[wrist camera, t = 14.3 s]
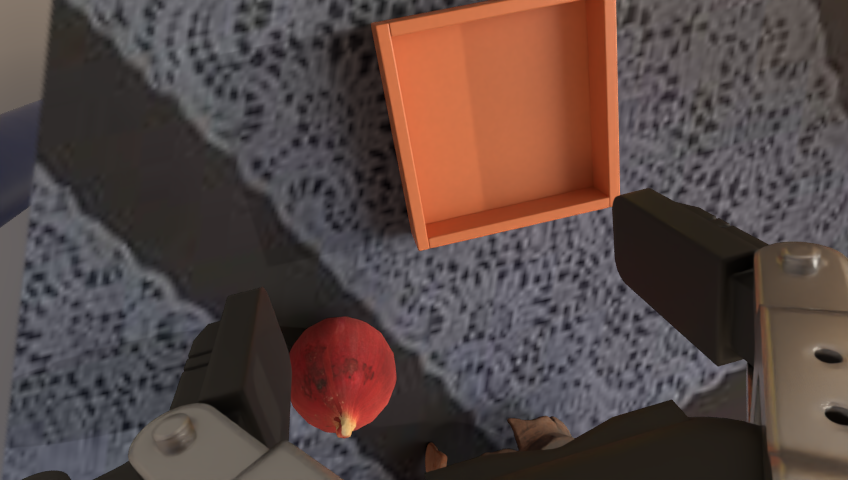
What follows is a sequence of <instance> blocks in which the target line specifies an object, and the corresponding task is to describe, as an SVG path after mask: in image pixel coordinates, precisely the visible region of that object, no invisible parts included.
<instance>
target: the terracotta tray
mask: <svg viewBox="0 0 848 480" xmlns="http://www.w3.org/2000/svg"><path fill="white" fill-rule="evenodd" d="M371 29H372V34H373V39H374V44H375V49H376V54H377V59H378V64H379V69H380V75H381V80H382V85H383V90H384V95H385V100H386V105H387V110H388V115H389V120H390V126H391V131H392V136H393V141H394V146H395V151H396V156H397V161H398V166H399V172H400V177H401V182H402V187H403V192H404V197H405V202H406V207H407V212H408V217H409V223H410V228H411V233H412V235H413V238H414V240H415V243H416V245H417V248H418V250H419V251H421V250H426V249H429V247H430V248H434V247H439V246H443V245H447V244H452V243H456V242H460V241H465V240H469V239H473V238H478V237H482V236H486V235H491V234H495V233H499V232H504V231H508V230H512V229H517V228H521V227H525V226H530V225H534V224H538V223H543V222H547V221H551V220H556V219H560V218H564V217H569V216H573V215H577V214H582V213H586V212H590V211H595V210H599V209H603V208H608V207H612V205H613V200H614V198H615V197H616V196H619V195H620V178H619V130H618V82H617V34H616V0H489V1H483V2H478V3H473V4H468V5H463V6H457V7H452V8H447V9H442V10H437V11H431V12H426V13H421V14H416V15H411V16H405V17H400V18H395V19H390V20H385V21H379V22H374V23H371Z"/></svg>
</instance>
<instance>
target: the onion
mask: <svg viewBox="0 0 848 480" xmlns="http://www.w3.org/2000/svg"><path fill="white" fill-rule="evenodd" d="M289 356H290V361H291V368H292V382H291V402H292V405H293V407H294V408H295V409H296V411H297V412H298V413H299V414H300V415H301V416H302V417H303V418H304V419H305V420H306V421H307V422H308V423H309V424H311V425H312V426H314V427H317V428H319V429H321V430H323V431H325V432H331V433H336V434H337V436H338V437H339V438H347V437H350V436H351V433H352V431H354V430H357V429H359V428H361V427H363V426H365V425H366V424H368V423H370V422H372V421H373V420H374V419H375V418H376V417H377V415H378V414H379V413H380V412H381V411H382V410H383V409H384V408H385V406H386V405H387V404H388V402H389V399H390V397H391V394H392V391H393V389H394V386H395V382H396V369H395V361H394V354H393V352H392V350H391V349H390V347H389V345H388V344H387V342H386V340H385V339H384V337H383V335H382V334H381V333H380V332H379V331H377V330H376V329H375V328H373V327H372V326H370V325H369V324H367V323H366V322H364V321H361V320H357V319H353V318H350V317H334V318H326V319H324V320H322V321H320V322H319V323H317V324H315V325H313V326H311V327H309V328H308V329H306V330H305V331H304V332H303V333H302V334H301V336H300V337H299V338H298V340H297V341H296V342H295V343H294V345H293V346H292V348H291V351H290V353H289Z"/></svg>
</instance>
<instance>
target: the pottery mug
mask: <svg viewBox="0 0 848 480" xmlns="http://www.w3.org/2000/svg"><path fill="white" fill-rule="evenodd" d="M507 421H508V423H509V424H510V426H511V427H512V430H513V432H514V436H515V439H516V442H517V445H518V449H519V451H516V450H512V449H502V450H499V451H496V452H492V453H489V452H487V453H484V454H482V455H481V456H483V455H487V454H497V453H509V452H521V451H533V450H545V449H554V448H558V447H561V446H563V445H565V444H567V443H568V442H570V441H572V440H574V439H575V438H573V437H572V436H571V434H570V432H569V430H568V429H567V427H566V426H565V425H564V424H563V423H562V422H561V421H560V420H558V419H557V418H556V417H553V416H552V417H550V418H549V417H548V416H542V417H538V418H537V419H533V420H521V419H516V418H508V419H507ZM446 463H447V456H446V455H445V454H444V453H442V452H440V451H438V449H437V447H436V446H435V445H434V444H433V443H429V444H428V445H427V450H426V454H425V466H426V472H429V471H433V470H436V469H439V468H443V467H446Z"/></svg>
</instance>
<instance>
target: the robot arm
mask: <svg viewBox="0 0 848 480" xmlns="http://www.w3.org/2000/svg"><path fill="white" fill-rule="evenodd" d="M612 214H613V233H614V252H615V262H616V266H617V270H618V272H619V274H620V276H621V278H622V280H623V281H624V282H625V284H626V285H628V286H629V287H630V288H631V289H632V290H633V291H634V292H635V293H636V294H638V295H639V296H640V297H641V298H642V299H643V300H644V301H645V302H647V303H648V304H649V305H650V306H651V307H652V308H653V309H654V310H655V311H657V312H658V313H659V314H660V315H661V316H662V317H663V318H664V319H665V320H667V321H668V322H669V323H670V324H671V325H672V326H673V327H674V328H675V329H677V330H678V331H679V332H680V333H681V334H682V335H683V336H684V337H686V338H687V339H688V340H689V341H690V342H691V343H692V344H693V345H694V346H696V347H697V348H698V349H699V350H700V351H701V352H702V353H703V354H704V355H706V356H707V357H708V358H709V359H710V360H711V361H712V362H713V363H714V364H716V365H717V366H721V365H725V364H728V363H732V362H735V361H738V360H742V359H744V360H746V361H747V374H746V395H747V422H745V421H739V420H733V419H728V418H717V417H687V416H686V415H685V413H684V412H683V411H682V410H681V409H680V408H679V407H678V406H677V405H676V403H675V402H674V401H673V400H669V401H665V402H662V403H659V404H655V405H652V406H648V407H645V408H642V409H638V410H635V411H632V412H628V413H625V414H622V415H618V416H615V417H612V418H610V419H609V420H607V421H605V422H603V423H602V424H600V425H598V426H596V427H595V428H593V429H591V430H589V431H588V432H586V433H584V434H582V435H581V436H579V437H577V438H575V439H574V440H572V441H570V442H568V443H567V444H565V445H563V446H561V447H558V448H554V449H545V450H533V451H521V452H509V453H497V454H487V455H483V456H480V457H477V458H473V459H470V460H466V461H463V462H460V463H456V464H453V465H450V466H446V467H443V468H439V469H436V470H433V471H429V472H426V473H425V478H426V480H848V259H847V258H846V257H845V256H844V255H843V254H841V253H840V252H838V251H836V250H834V249H832V248H829V247H826V246H823V245H819V244H814V243H807V242H781V243H775V244H771V245H768V244H767V243H765V242H763V241H761V240H759V239H757V238H755V237H753V236H751V235H750V234H748V233H746V232H744V231H742V230H740V229H738V228H736V227H735V226H730V225H729V223H727V222H725V221H723V220H721V219H720V218H718V219H716V216H714V215H712V214H710V213H708V212H706V211H704V210H703V209H701V208H699V207H694V206H690V205H686V204H682V203H678V202H674V201H672V200H671V199H669V198H667V197H665V196H663V195H661V194H660V193H658V192H656V191H654V190H652V189H650V188H646V189H642V190H639V191H635V192H631V193H627V194H623V195H619V196H616V197H615V198H614V200H613V205H612ZM188 357H189V359H187V361H186V364H185V367H184V372H183V373H182V376H181V379H180V382H179V384H178V387H177V390H176V393H175V396H174V399H173V402H172V405H171V408H170V411H168V412H166V413H164V414H162V415H161V416H159V417H157V418H156V419H154V420H153V421H152V422H150V423H149V424H148V425H147V426H146V427H144V428H143V429H142V430H141V431H140V432H139V434H138V435H137V436H136V437H135V439H134V440H133V442H132V444H131V446H130V449H129V453H128V457H129V461H128V462H126V463H125V464H123V465H121V466H119V467H118V468H116V469H114V470H112V471H110V472H108V473H106V474H104V475H102V476H100V477H98V478H96V479H94V480H343V479H342V478H340V477H339V476H337V475H336V474H335V473H333V472H332V471H330V470H329V469H327V468H326V467H325V466H323V465H322V464H320V463H319V462H317V461H316V460H315V459H313V458H312V457H310V456H309V455H307V454H306V453H305V452H303V451H302V450H300V449H299V448H298V447H296V446H295V445H293V444H292V443H290V442H288V441H289V421H290V402H291V382H292V368H291V361H290V356H289V352H288V349H287V346H286V343H285V340H284V337H283V334H282V332H281V329H280V326H279V323H278V321H277V318H276V315H275V312H274V310H273V307H272V304H271V301H270V299H269V296H268V294H267V292H266V290H265V289H264V288H263V287H261V288H257V289H253V290H249V291H245V292H241V293H238V294H234V295H230V296H228V297H227V300H226V304H225V307H224V311H223V314H222V318H221V321H218V322H215V323H211V324H208V325H207V326H206V327H205V328H204V329H203V331H202V332H201V333H200V334H199V335H198V336H197V337H196V338H195V339H194V341H193V344H192V347H191V350H190V353H189V355H188ZM22 480H71V479H70V477H69V476H68V475H67V474H66V473H64V472H61V471H45V472H41V473H37V474H34V475H32V476H29V477H26V478H24V479H22Z"/></svg>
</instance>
